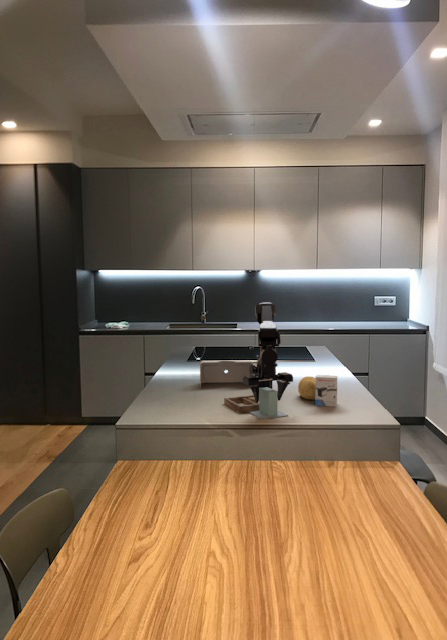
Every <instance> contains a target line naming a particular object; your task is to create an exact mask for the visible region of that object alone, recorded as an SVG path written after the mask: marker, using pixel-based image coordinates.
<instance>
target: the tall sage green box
mask: <svg viewBox="0 0 447 640" xmlns="http://www.w3.org/2000/svg"><path fill="white" fill-rule="evenodd" d="M277 393H278V390H275V389H273V388H272V389H270V388H268V387H265V388H259V411H260V412H262V413H264V414H266V415H268V416H275V415H277V410H278V397H277Z"/></svg>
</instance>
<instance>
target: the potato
mask: <svg viewBox="0 0 447 640" xmlns="http://www.w3.org/2000/svg"><path fill="white" fill-rule="evenodd" d="M297 388H298V394H299V395H300V397H301V398H303V399H306V400H315V388H316V377H314V376H304V377H303V378H301V379H300V381H299V382H298V385H297Z"/></svg>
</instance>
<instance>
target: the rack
mask: <svg viewBox="0 0 447 640" xmlns="http://www.w3.org/2000/svg"><path fill="white" fill-rule="evenodd" d="M250 397H254V395H253V394H252V395H251V394H250V395H241V396H231V397H230V396H229V397H223V398H224V399H223V404H224V405H226V406H227V407H229V408H230V409H232V410H234V411H236V412H237V413H239V414H243V413H249V411H256V410H259V404H256V403H254V402H252V401H250V400H248V398H250ZM239 403H244V405H241V404H239Z"/></svg>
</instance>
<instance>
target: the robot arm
mask: <svg viewBox="0 0 447 640" xmlns="http://www.w3.org/2000/svg"><path fill="white" fill-rule="evenodd" d="M276 307H277V306H276V305H275V304H273V302H260V303H259V304H257V305H254V311H255V312H254V313H255V317H256V320H257V322H258V325H259V329H258V330H257V346H258V347H260V348H259V350H260V351H259V353H260V355H259V358H258V359H257V361H256V365H255V364H253V365H251V366H250V368H249V371H250V374H254V376H253V375H249V376H244V377H243V382H242V384H243V385H246V386H248V387H249V388H250V389H251V392H252V395H254V398H255V401H256V403H258V401H259V388H265V387H268V388H270V389H273V382H274V381H276V384H277V401H281V399H282V398H283V395H284V392H285V391H286V389H287V387H288V386H289V385H290V384H291V383H292V382H293V383H294V376H293V375H292V373H290V372H289V373H288V372H286V371H285V372H278V373H277V369H276V368H277V367H278V363H277V361H278V357H279V356H278V353H277V348H276V347H280V345H281V342H282V341H281V332H280V331H279V330H278V329H277V328H278V327H277V324H276V323H274V320H275V318H274V317H275V316H276V314H277V313H276V309H277V308H276Z"/></svg>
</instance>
